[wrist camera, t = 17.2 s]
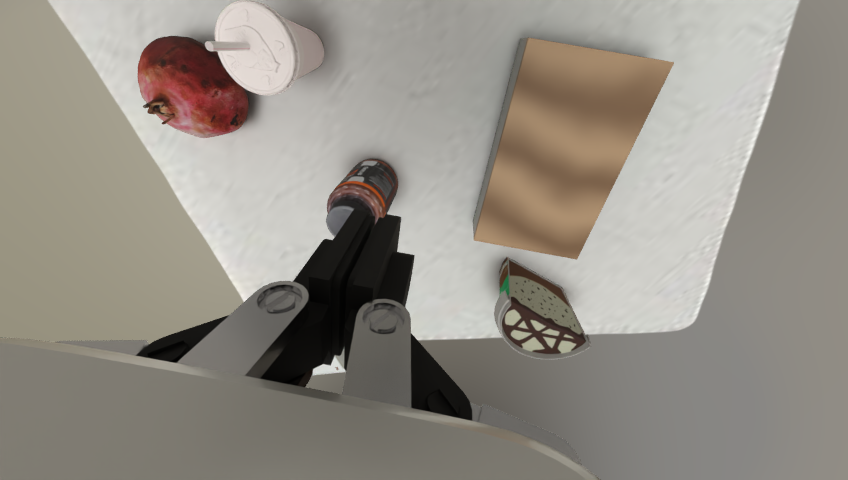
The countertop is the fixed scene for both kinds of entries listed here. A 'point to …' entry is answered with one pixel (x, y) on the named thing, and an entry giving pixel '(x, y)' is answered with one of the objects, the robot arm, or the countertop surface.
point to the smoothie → (264, 47)
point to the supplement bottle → (362, 193)
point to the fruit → (190, 88)
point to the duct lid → (565, 144)
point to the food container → (536, 315)
